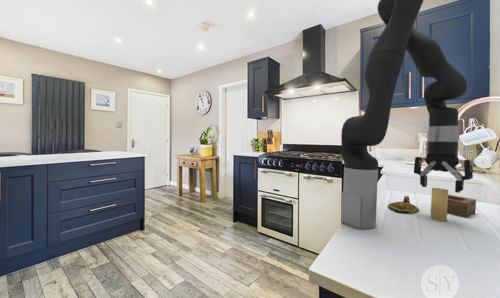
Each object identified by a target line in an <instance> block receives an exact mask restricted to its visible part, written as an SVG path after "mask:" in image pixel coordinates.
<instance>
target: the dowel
mask: <svg viewBox="0 0 500 298" xmlns="http://www.w3.org/2000/svg"><path fill="white" fill-rule="evenodd" d="M448 195H449V189H446V188H440V187H432V188H431V200H430V201H431V203H430V219H431V220H434V221H437V222H447V221H448V213H447V206H448Z"/></svg>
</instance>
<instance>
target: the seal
mask: <svg viewBox="0 0 500 298" xmlns="http://www.w3.org/2000/svg"><path fill="white" fill-rule="evenodd" d="M387 208H388V209H389V210H390V211H392V212H394V213H397V214H398V213H399V214H406V215H412V214H413V215H414V214H417V213H419V212H420V209H419V207H418V206H417V205H415V204H412V203H411V202H410V196H409V195H408V196H407V195H404V197H403V201H394V202H391V203H389V204H387Z"/></svg>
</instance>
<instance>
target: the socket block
mask: <svg viewBox="0 0 500 298" xmlns="http://www.w3.org/2000/svg"><path fill="white" fill-rule="evenodd" d="M476 207H477V199H475V198H469V197H464V196H460V195H459V196H457V195H452V194H448V206H447V215H448V214H449V215H453V216H458V217H462V218H466V219H467V218H469V217H471V216H473V215H474V214H476V210H477V209H476Z"/></svg>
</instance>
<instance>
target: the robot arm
mask: <svg viewBox="0 0 500 298" xmlns="http://www.w3.org/2000/svg"><path fill="white" fill-rule="evenodd" d="M423 3H424V0H379V1H378V4H377V12H378V15H379V18H380V19H381V21H382V23H384V25H385V27H384V29H383V31H382V32H381V33H380V35H379V37H378V38H377V40H376V41H375V43H374V45H373V46H372V48H371V50H370V52H369V54H368V58H367V62H366V66H365V70H364V74H363V75H364V81H365V84H366V88H367V91H368V102H367V105H366V109H365V111H364V114H363V115H358V116H357V115H356V116H352V117H351V116H350V117H349V118H346V120H345V121H344V123H343V125H342V128H341V136H340V137H341V141H340V142H341V157H342V160H343V163H344V165H343V167H344V168H343V190H342V191H341V201H340V202H341V203H340V204H341V206H340V209H341V211H340V222H341V223H343V222H344V223H343V224H345V225H347V226H350V227H353V228H354V229H355V228H356V229H357V230H360V229H365V230H366V229H374V228H376V225H377V202H378V201H377V200H378V182H379V181H378V178H379V161H378V159H377V158H375V157H374V156H372V154H370V152H369V151H368V147H375V146H378V145H380V144H381V143H382V141H384V139H385V137H386V134H387V131H388V126H389V122H390V115H391V109H392V103H393V102H392V101H393V97H394V94H395V92H396V91H395V90H396V87H397V82H398V79H399V75H400V72H401V71H402V70H401V69H402V66H403V63H404V60H405V56H406V55H405V53H406V52H407V53H408V54H409V57H410V58H411V60H412V62H413V64H414V66H415V67H416V69H417V71H418V73H419V74H420V77H422V78H432V79H434V81H431V82H430V83H428V84H426V86H425V88H424V91H423V100H424V102H425V105H426V110H427V112H428V131H427V135H426V136H427V137H426V157H422V156H416V157H414V165H413V166H414V167H413V173H414V174H416V175H419V184H420V186H421V187H422V188H426V187H427V186H428V176H427V175H429V173H430V172H432V171H435V172H445V173H446V172H447V173H448V172H449V173H450V174H451V175H452V176H453V177H454V178H455V179H456V180H455V188H454V192H455V193H461V192H462V191H463V190H464V183H465V181H469V180H471V179H473V176H474V172H473V170H474V169H473V160H472V159H459V157H458V156H459V140H460V135H459V133H460V132H459V110H458V109H457V108H456V107H450V106H447V103H446V101H450V100H456V99H458V98H461V97H462V96H464V95H465V94H466V92H467V90H468V82H467V79H466V78H465V76H464V75H463V74H462V73H460V71H459V70H457V69H456V68H455V67H454V66H453V65H452V64H451V63H450V62H448V60H447V58H446V56H445V54H444V52H443V50H442V48H441V47H440V45H439V43H438V42H437V41H436V40H435V39H433V38H432V37H430V36H428V35H426V34H425V33H422V32H421V31H419V30H418V29H416V28H415V27H414V25H415V22H416V21H417V20H416V19H417V18H418V15H419V13H420V10H421V8H422V5H423ZM423 163H426V164H427V166H426V167H425V168H423V170H422V165H423ZM459 164H460V165H461V167H463V168H464V169H463V170H464V175H463V174H462V173H461V171H460V170H459V169H458V168H457V166H458V165H459Z"/></svg>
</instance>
